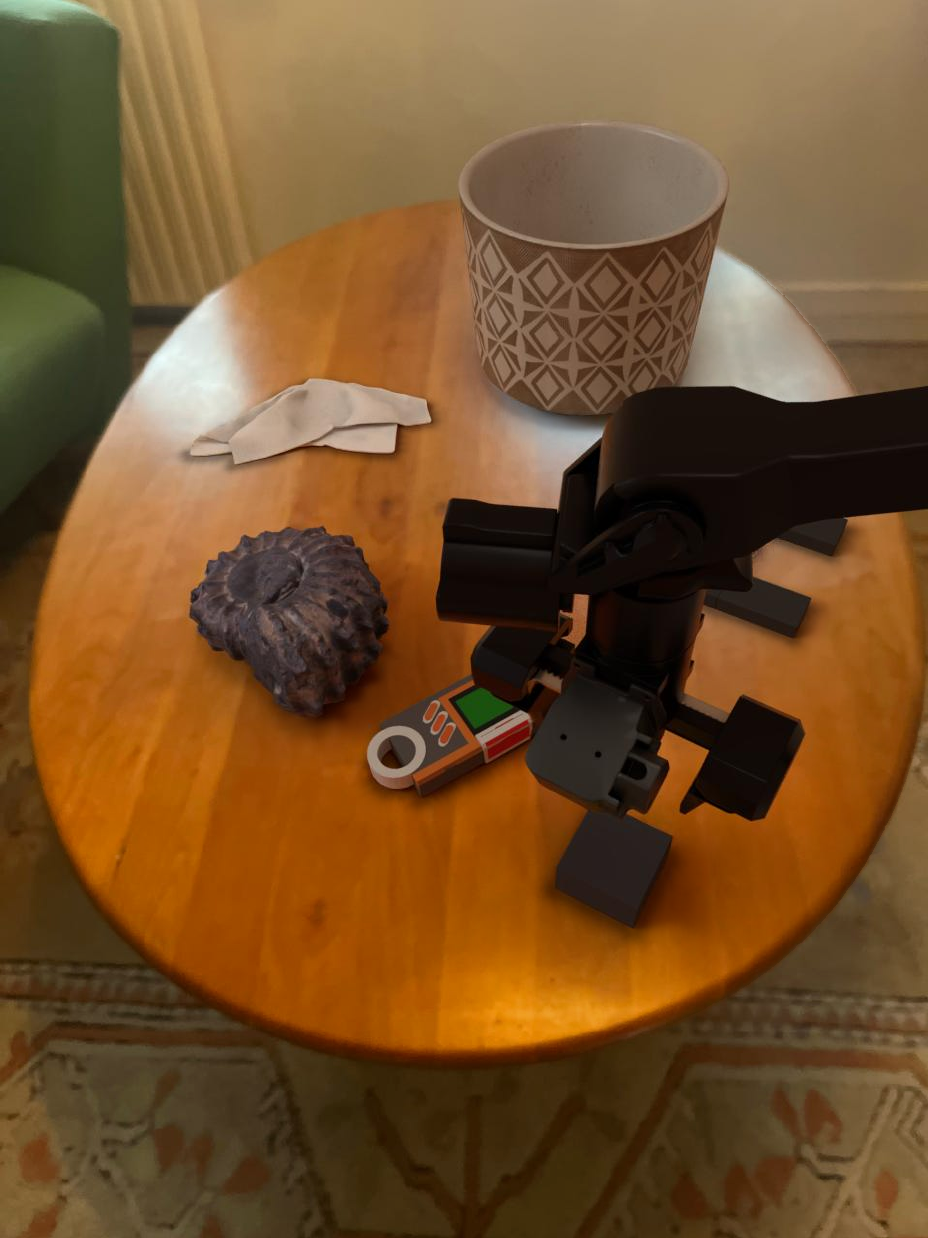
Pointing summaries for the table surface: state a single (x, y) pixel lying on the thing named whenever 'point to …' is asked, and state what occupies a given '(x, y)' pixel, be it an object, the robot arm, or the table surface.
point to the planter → (589, 259)
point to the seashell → (294, 613)
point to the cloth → (316, 421)
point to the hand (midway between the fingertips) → (619, 774)
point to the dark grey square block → (613, 864)
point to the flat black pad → (771, 600)
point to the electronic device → (447, 737)
